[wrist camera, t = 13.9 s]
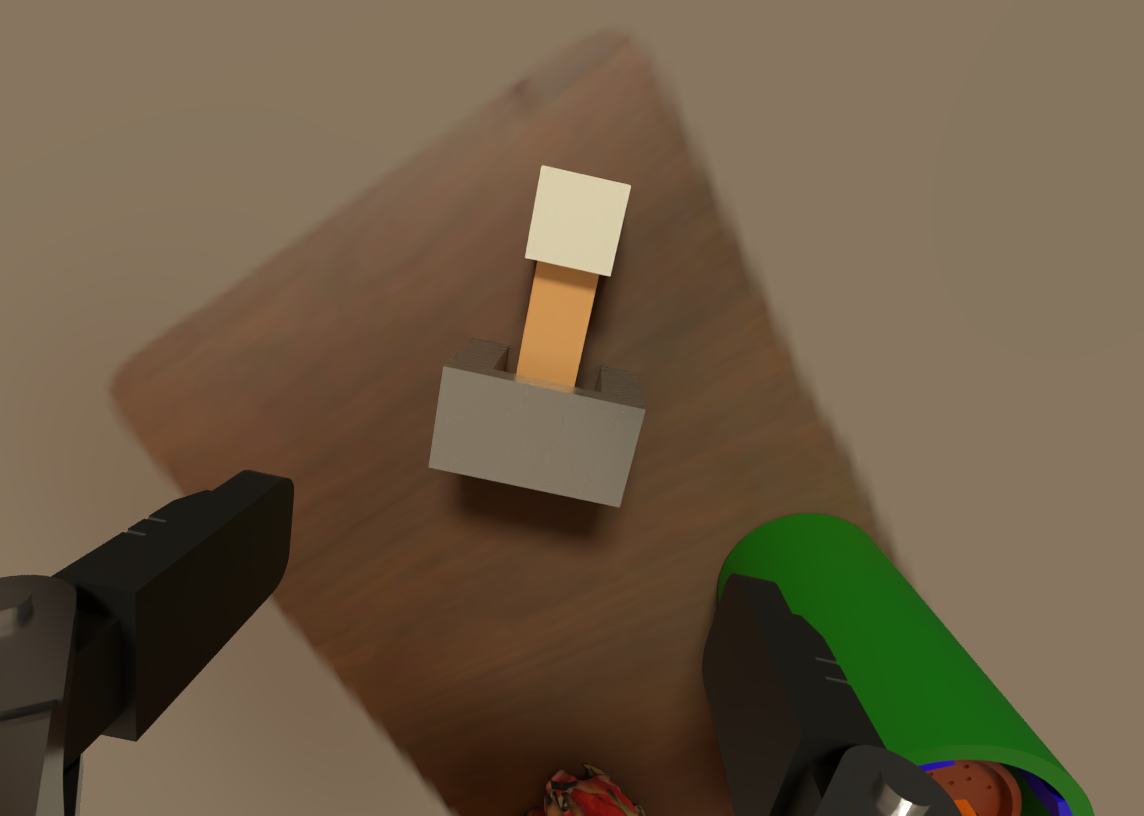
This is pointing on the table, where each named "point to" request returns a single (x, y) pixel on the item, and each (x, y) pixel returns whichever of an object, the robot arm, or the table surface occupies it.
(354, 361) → the table surface
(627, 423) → the block
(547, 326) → the plug
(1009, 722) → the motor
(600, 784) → the dragon fruit
